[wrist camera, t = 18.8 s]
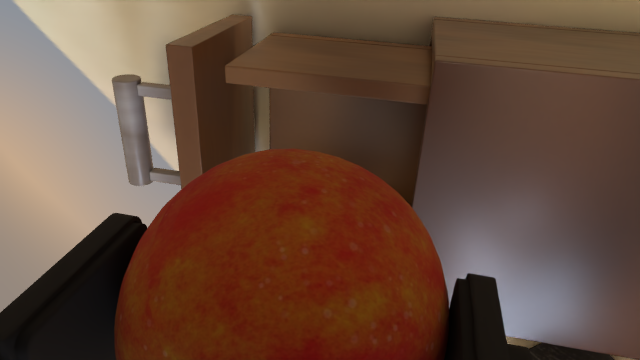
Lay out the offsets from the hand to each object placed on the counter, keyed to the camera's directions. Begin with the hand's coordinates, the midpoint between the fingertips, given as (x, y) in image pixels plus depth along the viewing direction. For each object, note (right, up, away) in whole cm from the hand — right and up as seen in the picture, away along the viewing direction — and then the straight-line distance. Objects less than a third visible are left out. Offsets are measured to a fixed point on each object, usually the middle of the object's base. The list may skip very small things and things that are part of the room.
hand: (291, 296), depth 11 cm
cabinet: (+14, +5, +17) cm, 22 cm away
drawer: (0, +6, +18) cm, 19 cm away
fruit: (+1, +2, +3) cm, 3 cm away
